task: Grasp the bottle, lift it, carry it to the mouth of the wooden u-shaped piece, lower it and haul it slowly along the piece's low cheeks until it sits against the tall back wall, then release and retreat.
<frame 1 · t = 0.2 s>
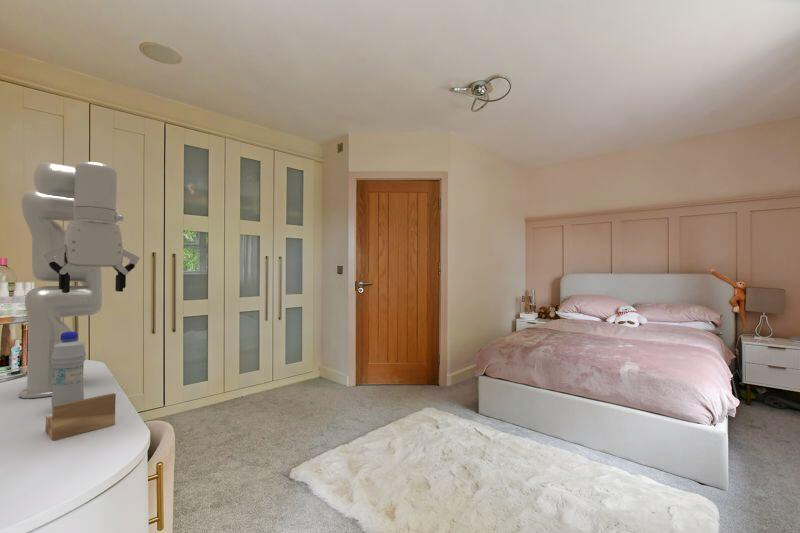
hand: (93, 292, 84), 31 cm above the table, fingers open, 9 cm apart
wooden u-shaped piece: (81, 428, 83), on the table
bottle: (67, 409, 96), on the table
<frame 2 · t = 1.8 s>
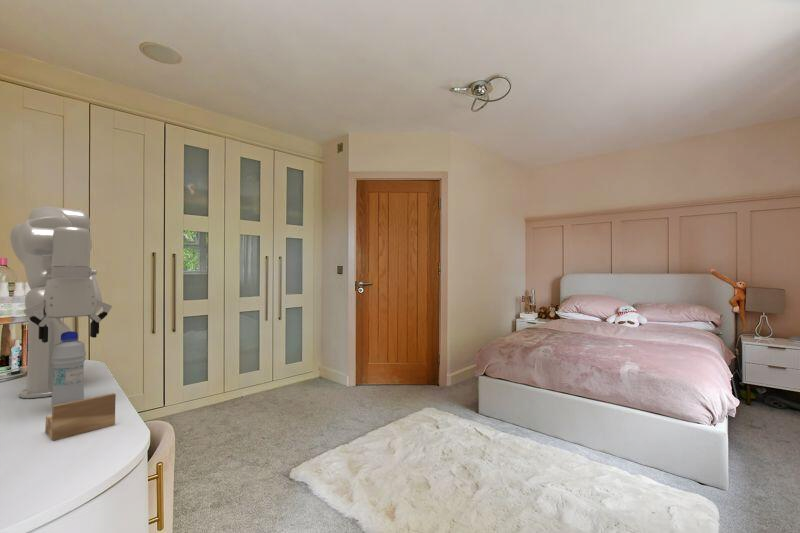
hand: (69, 339, 96), 18 cm above the table, fingers open, 9 cm apart
nothing on the table moved.
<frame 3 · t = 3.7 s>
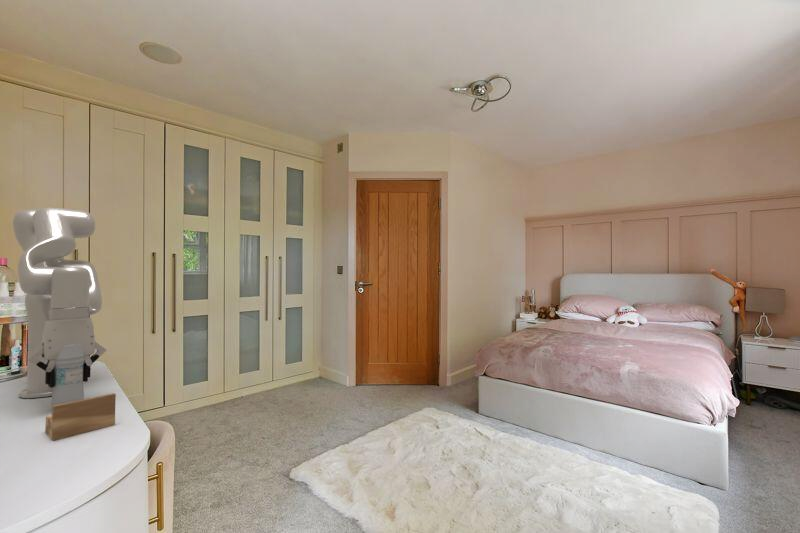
hand: (68, 382, 96), 7 cm above the table, fingers closed on bottle, 5 cm apart
bottle: (67, 409, 96), on the table, touching gripper
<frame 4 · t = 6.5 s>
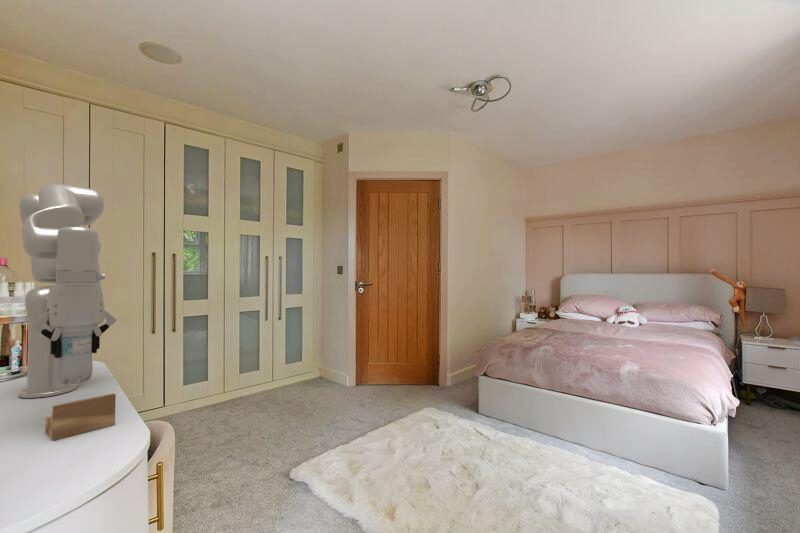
hand: (75, 354, 88), 16 cm above the table, fingers closed on bottle, 5 cm apart
bottle: (75, 382, 87), point 9 cm above the table, touching gripper
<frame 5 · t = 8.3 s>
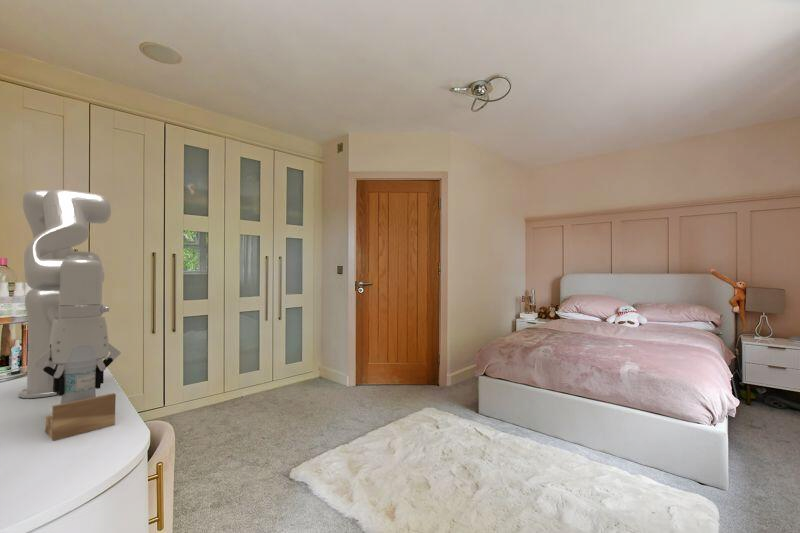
hand: (78, 390, 85), 8 cm above the table, fingers closed on bottle, 5 cm apart
bottle: (78, 419, 85), point 1 cm above the table, touching gripper
when the fingers open (7 cm above the table, at t = 9.4 s): bottle stays where it is, on the table.
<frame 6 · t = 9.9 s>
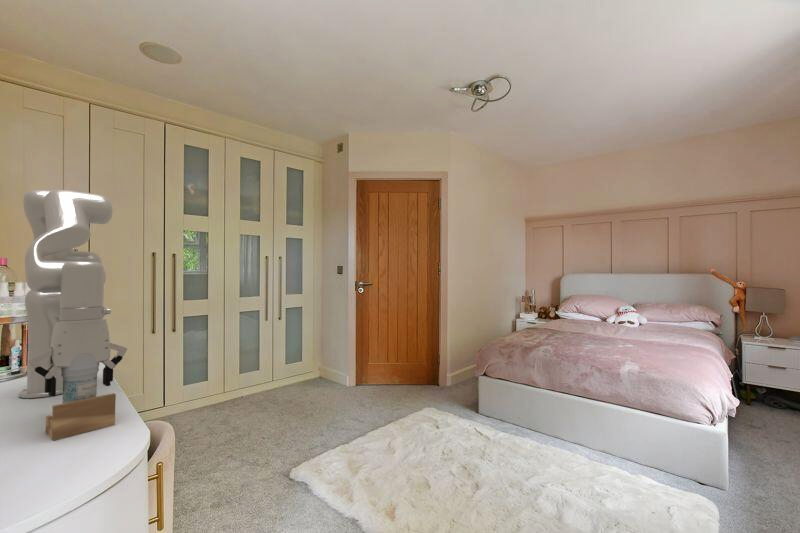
hand: (80, 390, 84), 8 cm above the table, fingers open, 9 cm apart
bottle: (79, 427, 84), on the table
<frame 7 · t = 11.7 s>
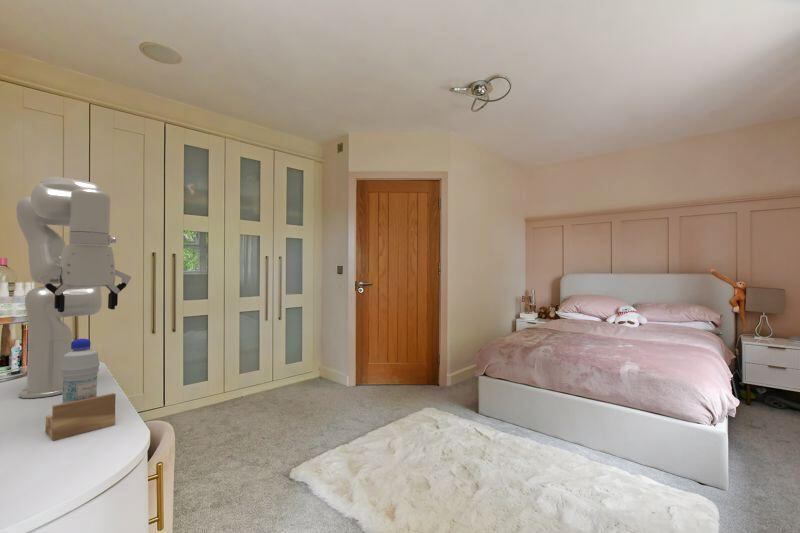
hand: (87, 310, 90), 26 cm above the table, fingers open, 9 cm apart
nothing on the table moved.
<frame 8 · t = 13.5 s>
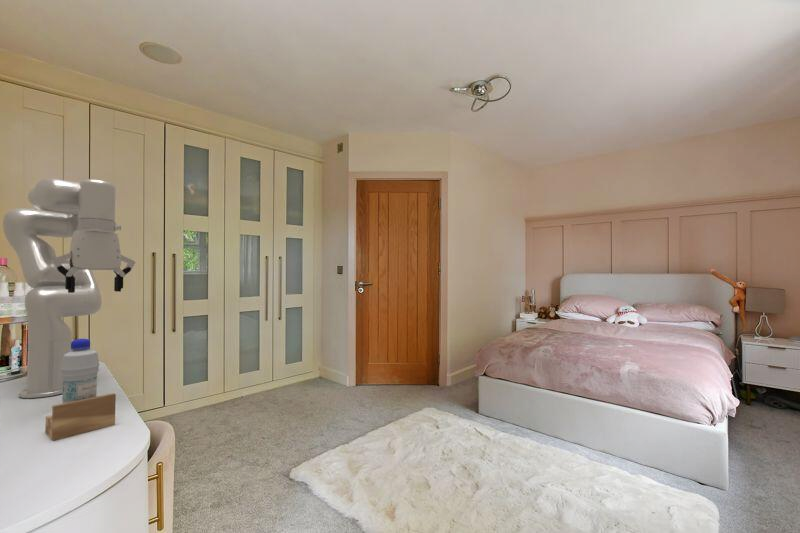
hand: (95, 291, 97), 30 cm above the table, fingers open, 9 cm apart
nothing on the table moved.
at the end: bottle 0.7 cm off-centre on the wooden u-shaped piece, point 0.0 cm above the wooden u-shaped piece's base; bottle tilted 0°; the gripper is holding nothing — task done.
